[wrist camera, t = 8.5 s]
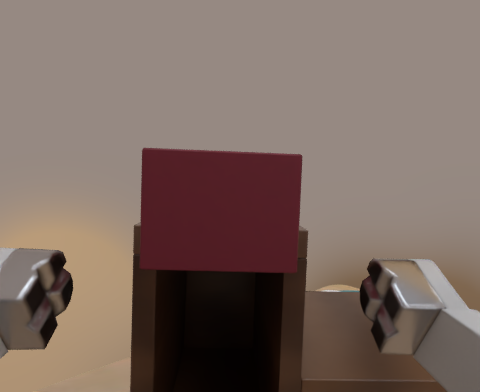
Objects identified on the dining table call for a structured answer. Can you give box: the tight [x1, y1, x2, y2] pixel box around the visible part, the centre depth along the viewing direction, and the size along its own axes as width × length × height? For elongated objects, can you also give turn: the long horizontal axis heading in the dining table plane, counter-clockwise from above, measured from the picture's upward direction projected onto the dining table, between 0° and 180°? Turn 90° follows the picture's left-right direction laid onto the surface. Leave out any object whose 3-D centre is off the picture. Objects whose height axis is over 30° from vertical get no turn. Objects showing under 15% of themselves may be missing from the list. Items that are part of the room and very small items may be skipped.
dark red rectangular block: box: [140, 148, 302, 273], centre depth 18 cm, size 4×20×3 cm, turn 3°
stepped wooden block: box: [130, 222, 447, 392], centre depth 24 cm, size 20×14×26 cm
